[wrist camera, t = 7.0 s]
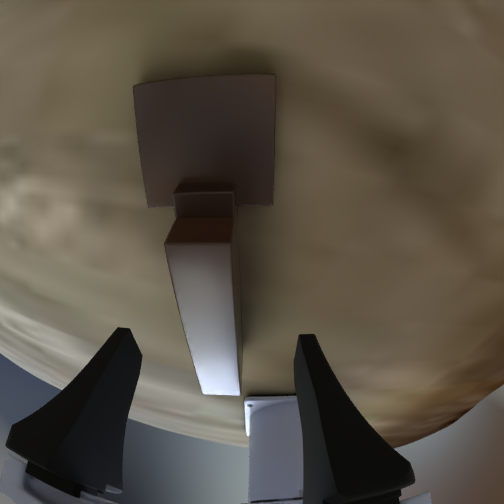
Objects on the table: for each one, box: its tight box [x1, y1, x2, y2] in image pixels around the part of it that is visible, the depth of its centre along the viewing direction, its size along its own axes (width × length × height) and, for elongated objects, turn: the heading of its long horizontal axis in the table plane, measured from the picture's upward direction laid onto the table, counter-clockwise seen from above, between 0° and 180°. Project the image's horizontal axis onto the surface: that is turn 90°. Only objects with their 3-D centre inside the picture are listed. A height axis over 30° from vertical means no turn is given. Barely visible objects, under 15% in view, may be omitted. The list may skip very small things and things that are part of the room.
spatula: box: [133, 74, 276, 395], centre depth 12 cm, size 15×5×3 cm, turn 0°
